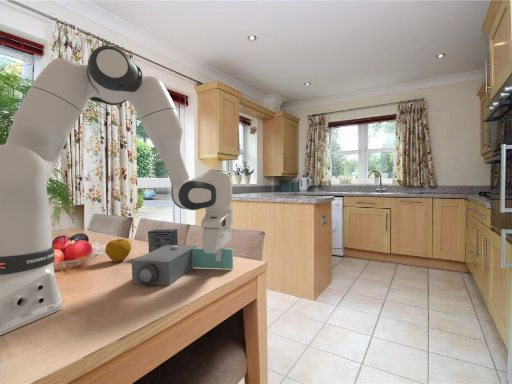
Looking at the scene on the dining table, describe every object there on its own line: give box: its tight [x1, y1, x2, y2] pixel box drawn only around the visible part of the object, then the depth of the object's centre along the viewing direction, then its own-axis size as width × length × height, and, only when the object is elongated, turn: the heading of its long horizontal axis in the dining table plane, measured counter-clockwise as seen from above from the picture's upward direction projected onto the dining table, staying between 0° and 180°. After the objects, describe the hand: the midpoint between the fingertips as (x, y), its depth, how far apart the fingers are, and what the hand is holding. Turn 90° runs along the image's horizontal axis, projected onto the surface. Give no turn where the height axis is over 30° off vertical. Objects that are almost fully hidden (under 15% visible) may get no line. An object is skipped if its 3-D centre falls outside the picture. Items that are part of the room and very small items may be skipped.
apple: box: [104, 238, 132, 263], centre depth 104 cm, size 9×9×9 cm
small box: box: [147, 228, 179, 253], centre depth 113 cm, size 11×6×10 cm, turn 84°
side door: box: [192, 247, 234, 270], centre depth 92 cm, size 14×2×7 cm, turn 79°
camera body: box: [131, 244, 198, 287], centre depth 87 cm, size 22×12×8 cm, turn 169°
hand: (218, 260), depth 89 cm, fingers closed
